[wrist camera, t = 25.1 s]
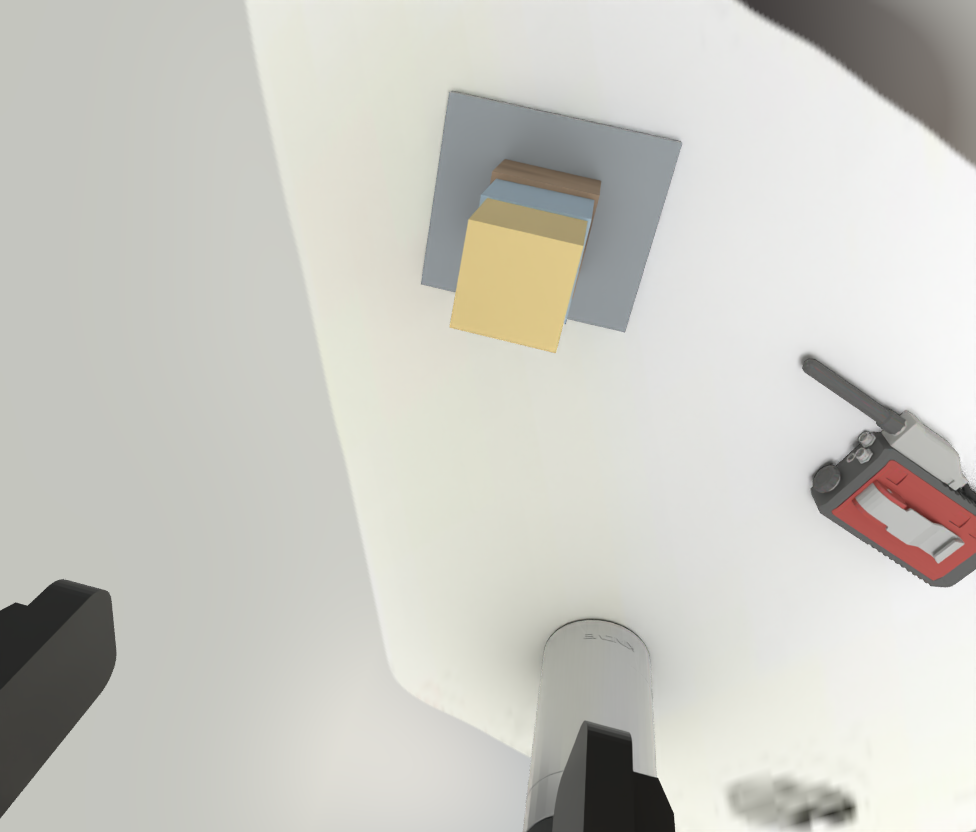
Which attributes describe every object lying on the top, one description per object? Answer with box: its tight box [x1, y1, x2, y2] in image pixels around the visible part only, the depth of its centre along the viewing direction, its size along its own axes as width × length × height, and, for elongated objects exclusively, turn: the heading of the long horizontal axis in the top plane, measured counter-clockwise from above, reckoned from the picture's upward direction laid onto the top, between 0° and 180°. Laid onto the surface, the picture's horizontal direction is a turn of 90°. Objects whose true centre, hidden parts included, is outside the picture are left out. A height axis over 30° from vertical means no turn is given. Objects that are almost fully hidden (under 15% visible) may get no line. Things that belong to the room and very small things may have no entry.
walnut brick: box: [490, 159, 601, 299], centre depth 42 cm, size 6×6×5 cm
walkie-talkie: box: [802, 359, 976, 587], centre depth 48 cm, size 9×4×20 cm
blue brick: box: [479, 179, 594, 324], centre depth 38 cm, size 6×6×5 cm
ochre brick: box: [450, 198, 588, 353], centre depth 33 cm, size 5×5×5 cm
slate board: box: [421, 91, 682, 332], centre depth 45 cm, size 12×14×1 cm
